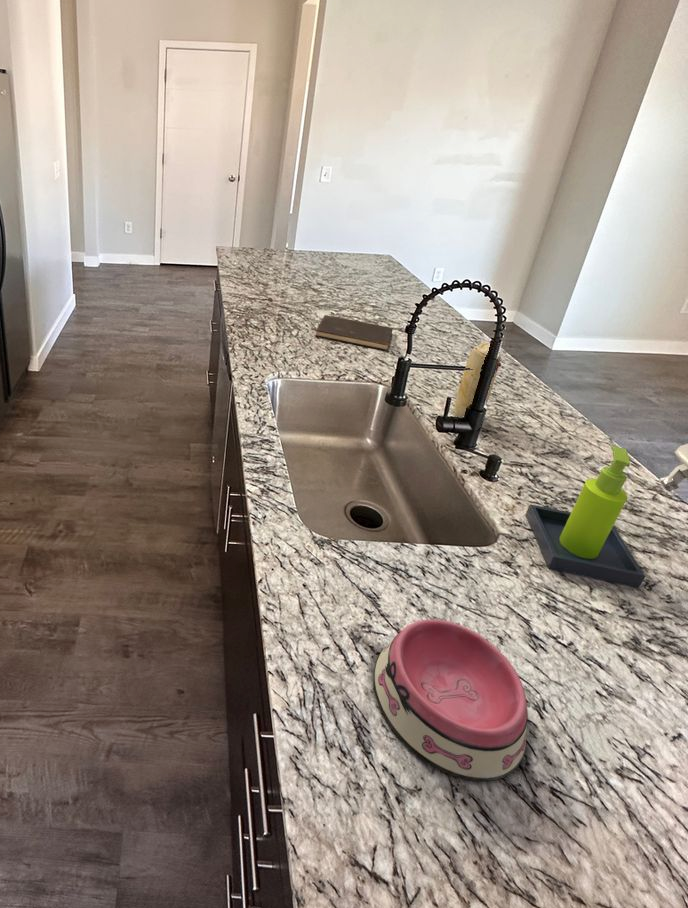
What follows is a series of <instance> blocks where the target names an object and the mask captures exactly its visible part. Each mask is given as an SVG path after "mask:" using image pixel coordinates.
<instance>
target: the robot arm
mask: <svg viewBox="0 0 688 908" xmlns="http://www.w3.org/2000/svg"><path fill="white" fill-rule="evenodd" d="M674 454H675V456H676V458H677V459H678V460H679V462H680V463H681V464H680V465H677V466H675V468H673V470H672V471H671V472H670V473H669V475H667V476H664V477H661V478H659V480H658V482H659V483H660V485H661V486H662V487H663V488H664V489H665V490H666V491H667V492H672V491H673V490H678V489H680V486H679V484H680V483H681V482H682V481H684V480H685V479H686V480H688V443H685V444H683V445H680V446H678V447H677V448H676V449H675V451H674Z"/></svg>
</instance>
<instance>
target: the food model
mask: <svg viewBox="0 0 688 908" xmlns="http://www.w3.org/2000/svg"><path fill="white" fill-rule="evenodd" d="M490 344H491V343H488V342H482V343H480V344H479V345H478V346H477V348H476V347H473V349H471V351H470V352H469V355H468V358H467V361H466V365H465V368H470V369H473V370H465V368H464V371H463V374H462V377H461V380H460V383H459V387H458V391H457V394H456V398H455V402H454V406H453V414H454V417H455V418H457V417H463V416H464V414H465V411H466V408H467V407H468V406H469V405H470V404H471V403H472V401H473V398H474V395H475V392H476V388H477V385H478V381H479V378H480V372H481V367H482V365H483V364H484V360H485V357H486V355H487V353H488V351H489V347H490ZM501 354H502V353H501V351H500V352H499V357H498V363H497V368H496V372H495V374H494V377H493V380H492V383H491V386H490V389H489V392H488V395H487V399H486V405H488V401H489V399H490V396H491V393H492V390H493V387H494V384H495V380H496V377H497V374H498V370H499V368H500V363H501V359H502V355H501Z"/></svg>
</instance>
